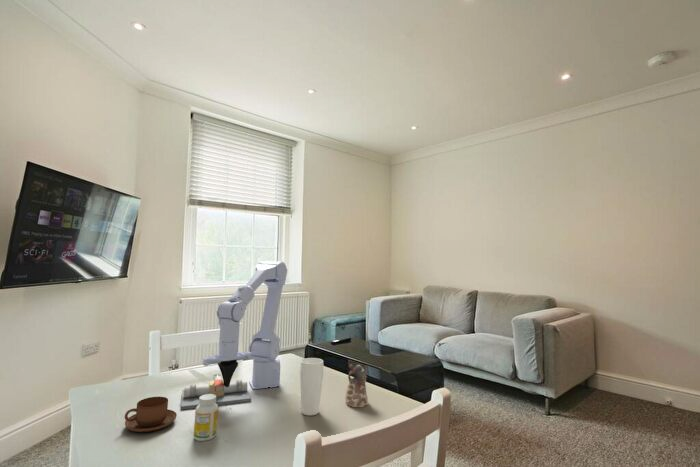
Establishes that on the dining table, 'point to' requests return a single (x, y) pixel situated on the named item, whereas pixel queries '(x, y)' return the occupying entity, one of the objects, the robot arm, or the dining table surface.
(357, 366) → the figurine
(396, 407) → the dining table surface
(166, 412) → the cup and saucer
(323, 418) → the dining table surface
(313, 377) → the drinking glass
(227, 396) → the valve board
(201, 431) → the supplement bottle
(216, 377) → the valve lever
